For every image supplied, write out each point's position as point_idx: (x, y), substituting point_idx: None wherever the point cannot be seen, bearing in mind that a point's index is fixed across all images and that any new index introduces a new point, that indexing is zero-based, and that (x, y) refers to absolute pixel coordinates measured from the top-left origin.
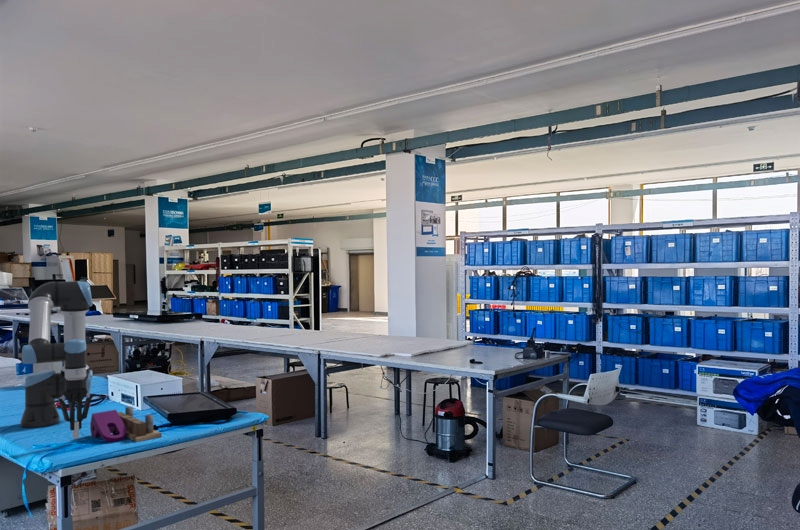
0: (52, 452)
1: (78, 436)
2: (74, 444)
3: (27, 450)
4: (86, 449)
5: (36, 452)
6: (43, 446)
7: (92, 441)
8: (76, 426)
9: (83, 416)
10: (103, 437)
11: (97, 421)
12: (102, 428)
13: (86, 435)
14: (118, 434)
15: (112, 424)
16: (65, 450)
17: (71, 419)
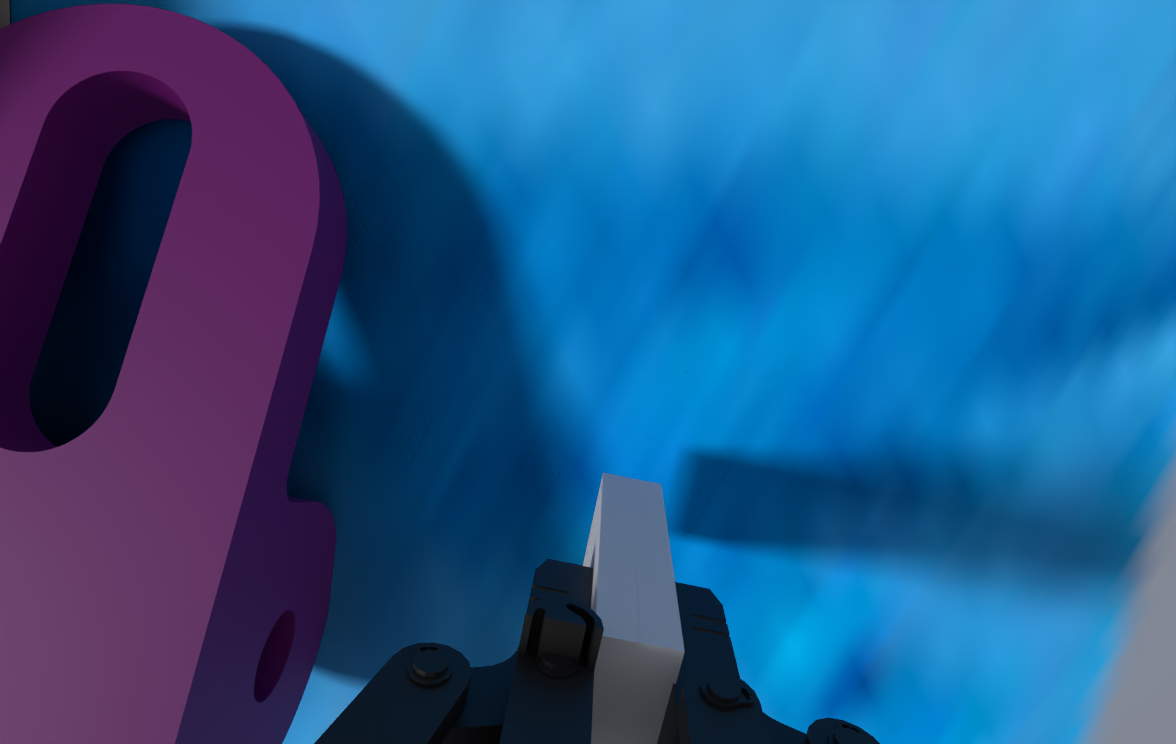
0: (1028, 356)
1: (608, 486)
2: (650, 469)
3: (1093, 713)
4: (706, 49)
5: (1112, 541)
6: (897, 712)
7: (436, 394)
8: (644, 585)
9: (458, 710)
10: (335, 201)
11: (186, 610)
12: (233, 362)
13: None
14: (86, 191)
15: (3, 430)
16: (885, 290)
17: (767, 735)
